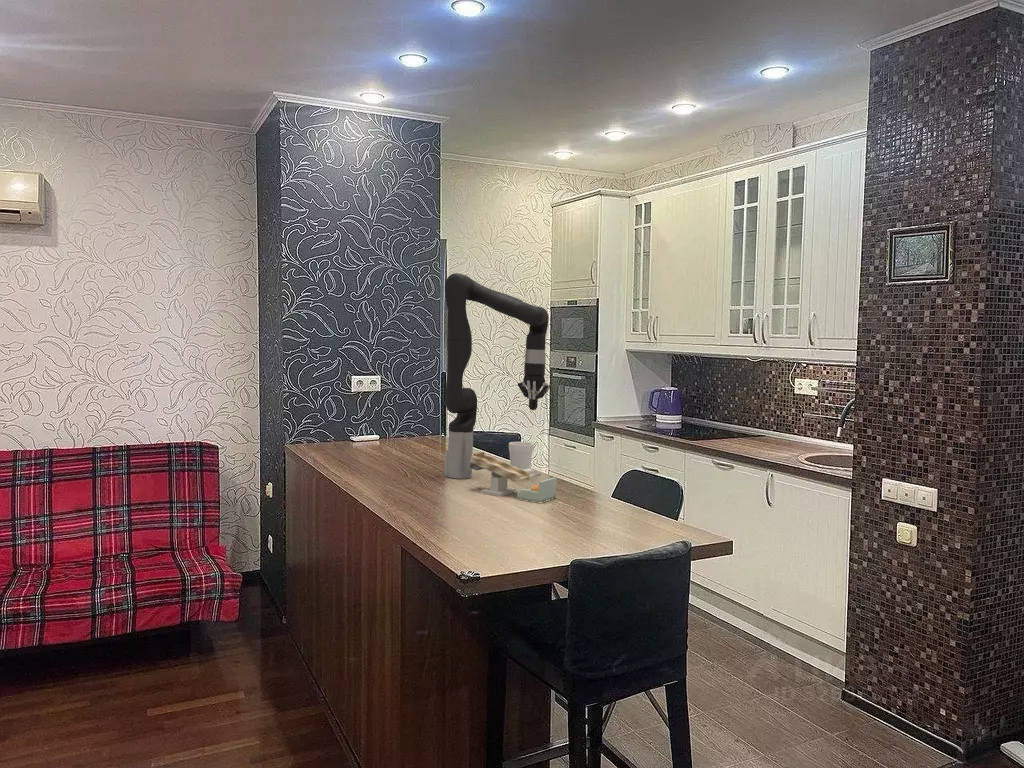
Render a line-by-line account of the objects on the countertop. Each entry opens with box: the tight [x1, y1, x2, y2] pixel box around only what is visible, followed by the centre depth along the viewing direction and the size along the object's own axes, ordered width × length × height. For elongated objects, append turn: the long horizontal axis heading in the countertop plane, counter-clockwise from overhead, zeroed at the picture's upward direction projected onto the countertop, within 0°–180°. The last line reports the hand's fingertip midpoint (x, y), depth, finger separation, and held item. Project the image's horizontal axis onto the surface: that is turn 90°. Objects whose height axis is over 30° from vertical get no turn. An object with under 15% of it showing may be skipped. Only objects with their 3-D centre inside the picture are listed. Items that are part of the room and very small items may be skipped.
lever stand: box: [480, 475, 517, 497], centre depth 270 cm, size 8×10×6 cm
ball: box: [530, 484, 539, 492], centre depth 262 cm, size 4×4×4 cm
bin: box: [516, 477, 557, 503], centre depth 262 cm, size 9×10×7 cm
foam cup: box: [508, 441, 535, 470], centre depth 296 cm, size 10×9×13 cm
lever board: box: [470, 451, 542, 484], centre depth 273 cm, size 20×15×5 cm
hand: (533, 409), depth 285 cm, fingers closed
